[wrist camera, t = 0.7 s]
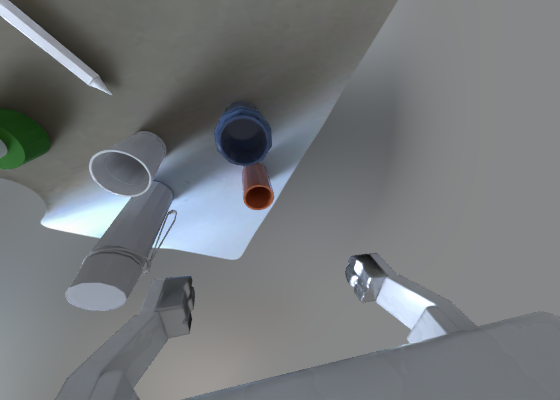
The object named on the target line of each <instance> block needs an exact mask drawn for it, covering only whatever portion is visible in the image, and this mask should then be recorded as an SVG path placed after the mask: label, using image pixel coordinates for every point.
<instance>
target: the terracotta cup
mask: <svg viewBox="0 0 560 400" xmlns="http://www.w3.org/2000/svg"><path fill="white" fill-rule="evenodd" d="M242 185H243V199H244V203H245V204H246V205H247V207H249V208H251V209H253V210H262V209H265V208H267V207H269V206H270V205H271V204H272V202H273V199H274V193H273V190H272V186H271V183H270V179H269V176H268V172H267V170H266V168H265V167H264V166H263V165H261V164H259V163H256V164H254V165H249V166H246V167H245V168H244V169H243V172H242Z"/></svg>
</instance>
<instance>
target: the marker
mask: <svg viewBox="0 0 560 400" xmlns="http://www.w3.org/2000/svg"><path fill="white" fill-rule="evenodd" d="M0 16H2V17H3V18H4V19H5V20H7V21H8V22H9V23H10V24H12V25H13V26H14V27H16V28H17V29H18V30H19V31H21V32H22V33H23V34H24V35H26V36H27V37H28V38H30V39H31V40H32V41H33V42H35V43H36V44H37V45H38V46H40V47H41V48H42V49H44V50H45V51H46V52H47V53H49V54H50V55H51V56H52V57H54V58H55V59H56V60H58V61H59V62H60V63H61V64H63V65H64V66H65V67H66V68H68V69H69V70H70V71H71V72H73V73H74V74H75V75H77V76H78V77H79V78H80V79H82V80H83V81H84V82H85V83H87V84H88V85H89V86H93V87H95V88H98V89H100V90H102V91H104V92H106V93H108V94H110V95H112V94H111V92H110V91H109V90H108V89H107V87H106V86H105V85H104V83H103V81H102V80H101V78H100V76H99V75H98V74H97V73H96V72H94V71H93V70H92V69H91V68H90V67H88V66H87V65H86V64H85V63H83V62H82V61H81V60H80V59H79V58H77V57H76V56H75V55H74V54H73V53H71V52H70V51H69V50H68V49H67V48H65V47H64V46H63V45H62V44H61V43H59V42H58V41H57V40H56V39H55V38H53V37H52V36H51V35H50V34H49V33H47V32H46V31H45V30H44V29H43V28H41V27H40V26H39V25H38V24H36V23H35V22H34V21H33V20H32V19H30V18H29V17H28V16H27V15H26V14H24V13H23V12H22V11H21V10H20V9H18V8H17V7H16V6H15V5H14V4H12V3H11V2H10V1H9V0H0ZM112 96H113V95H112Z"/></svg>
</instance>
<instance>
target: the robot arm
mask: <svg viewBox="0 0 560 400" xmlns="http://www.w3.org/2000/svg"><path fill="white" fill-rule="evenodd" d="M348 262H349V263H350V264H349V265H348V266H347V267H346V271H345V273H346V278H347V281H348V283H349V284H350V285H351V286H353V287H354V292H355V294H356V295H357V297H358V299H359V300H360V302H361V303H364V302H370V301H376V302H377V303H378V304H379V305H380V306H382V307H383V308H384V309H386V310H387V311H388V312H390V313H391V314H392V315H393V316H395V317H396V318H397V319H398V320H400V321H401V322H402V323H403V324H405V325H406V326H407V327H409V328H410V329H411V332H410V333H409V335H408V337H407V340H408V341H409V344H405V345H401V346H397V347H393V348H388V349H384V350H380V351H376V352H372V353H368V354H364V355H360V356H357V357H352V358H348V359H344V360H340V361H336V362H332V363H328V364H324V365H320V366H316V367H311V368H307V369H303V370H299V371H296V372H291V373H287V374H283V375H279V376H275V377H271V378H267V379H263V380H259V381H255V382H251V383H247V384H243V385H239V386H235V387H230V388H226V389H222V390H218V391H215V392H210V393H206V394H203V395H198V396H194V397H190V398H186V399H182V400H560V317H559V316H556V315H554V314H551V313H548V312H534V313H530V314H526V315H522V316H518V317H514V318H510V319H506V320H502V321H498V322H494V323H490V324H486V325H482V326H478V327H477V326H476V325H475V324H474V323H473V322H472V321H471V320H470V319H469V318H468V317H467V316H466V315H465V314H464V313H462V311H461V310H459V309H458V308H457V307H456V306H455V305H454V304H453V303H452V302H451V301H449V300H448V299H445V298H444V297H442V296H440V295H438V294H436V293H434V292H432V291H430V290H428V289H426V288H425V287H423V286H421V285H419V284H417V283H415V282H413V281H411V280H409V279H408V278H406V277H404V276H402V275H397V274H396V273H395V271H394V270H393V269H392V268H391V267H390V266H389V265H388V264H387V263H386V262H385V261H384V259H383V258H382V257H381V256H380V255H379V254H377V253H369V254H361V255H354V256H351V257H350V258H349V261H348ZM194 301H195V292H194V288H193V287H192V277H191V276H180V277H169V278H161V279H154V280H153V281H152V282H151V285H150V287H149V290H148V292H147V295H146V297H145V300H144V302H143V305H142V307H141V310H140V312H139V315H134V316H133V317H132V318H131V319H130V320H129V321H128V322H127V323H126V324H124V325H123V326H122V327H121V328H120V329H119V330H118V331H117V332H116V333H115V334H114V335H113V336H112V337H111V338H109V339H108V340H107V341H106V342H105V343H104V344H103V345H102V346H101V347H100V348H99V349H98V350H97V351H96V352H94V353H93V354H92V355H91V356H90V357H89V358H88V359H87V360H86V361H85V362H84V363H83V364H82V365H81V366H79V367H78V368H77V369H76V370H75V371H74V372H73V373H72V374H71V375H70V376H69V377H68V378H67V379H66V381H65V383H64V385H63V386H62V388H61V390H60V392H59V393H58V395H57V397H56V399H55V400H140V399H139V397H138V396H137V394H136V392H135V391H134V389H133V388H134V386H135V385H136V384H137V382H138V381H139V380H140V378H141V377H142V375H143V374H144V373H145V371H146V370H147V368H148V367H149V365H150V364H151V362H152V361H153V360H154V358H155V357H156V356H157V354H158V353H159V352H160V350H161V349H162V347H163V346H164V344H165V343H166V342H167V340H168V338H173V337H177V336H182V335H187V334H190V328H191V322H192V317H191V311H192V310H193V309H194Z"/></svg>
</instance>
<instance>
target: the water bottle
mask: <svg viewBox="0 0 560 400" xmlns="http://www.w3.org/2000/svg"><path fill="white" fill-rule="evenodd" d="M172 200H173V193H172V191H171V190H170V189H169V188H168V186H166V185H164V184H162V183H160V182H156V181H153V182H152V184H151V186H150V188H149V189H148V191H146V192H145V193H144V194H142V195H139V196H135V197H131V199H130V200H129V201H128V203H127V204H126V205H125V207H124V208H123V209H122V211H121V212H120V213H119V215H118V216H117V217H116V219H115V220H114V221H113V223H112V224H111V225H110V227H109V228H108V229H107V231H106V232H105V233H104V235H103V236H102V237H101V239H100V240H99V241H98V243H97V244H96V245H95V247H94V248H93V250H92V251H91V253H90V254H88V255H87V256H86V257H85V258H84V260H83V261H82V264H81V268H80V269H79V271H78V273H77V275H76V276H75V278H74V280H73V282H72V283H71V285H70V287H69V288H68V290H67V292H66V293H65V297H66V298H67V300H68V301H69V303H71V304H73V305H75V306H77V307H79V308H82V309H87V310H94V311H103V310H112V309H115V308H117V307H121V306H122V305H123V304H124V303H125V301H126V300H127V298H128V297H129V295H130V293H131V291H132V290H133V288H134V286H135V284H136V282H137V281H138V279H139V277H140V276H142V275H144V274H146V273H147V271H150V267H151V261H152V259H153V258H154V256H155V254H156V253H157V251H158V249H159V247H160V246H161V244H162V242H163V241H164V239H165V237H166V236H167V234H168V232H169V230H170V229H171V227H172V225H173V224H174V222H175V219H176V215H177V211H175V210H171V211H169V212H168V209H169V207H170V205H171V203H172ZM167 212H168V214H167ZM171 213H175V219H174V221H173V223H172V224H171V226H170V228H169V230H168V231H167V233H166V235H165V236H164V238H163V240H162V242H161V243H160V245H159V247H158V248H157V250H156V252H155V254H154V255H153V253H154V251H153V253H152V256H153V257H152V256H151V258H152V259H150V260H148V259H147V257H148V254H149V252H150V250H151V248H152V246H153V244H154V241H155V239H156V237H157V234H158V232H159V230H160V228H161V225H162V223H163V221H164V219H165V221H164V223H163V226H162V229H161V232H162V230H163V227H164V224H165V222H166V219H167V217H168V215H169V214H171ZM166 214H167V216H166ZM165 216H166V218H165ZM161 232H160V234H159V237H160V235H161ZM159 237H158V240H159ZM158 240H157V242H156V245H157V243H158ZM156 245H155V248H156ZM155 248H154V250H155ZM145 262H147V267H146V270H145V271H144V272H143V273H142V267H143V266H144V264H145Z"/></svg>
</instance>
